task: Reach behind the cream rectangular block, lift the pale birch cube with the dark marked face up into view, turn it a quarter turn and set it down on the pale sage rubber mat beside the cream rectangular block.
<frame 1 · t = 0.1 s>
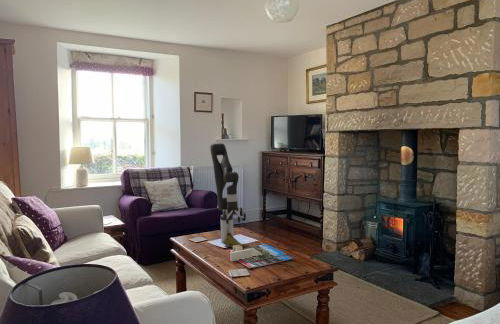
hand: (233, 223, 252), 17 cm above the table, tool pointing down, fingers open, 8 cm apart
marked cube: (237, 255, 236), on the table
cream rectangular block: (241, 259, 228), on the table
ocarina: (233, 247, 252), on the table, touching mat
mat: (252, 252, 240), on the table
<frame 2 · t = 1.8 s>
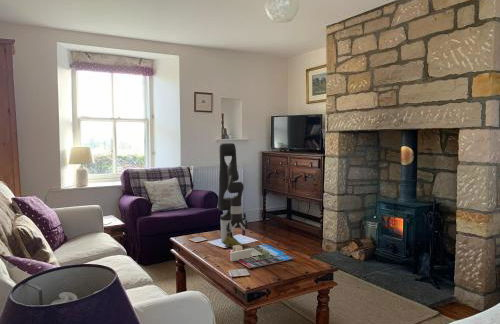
hand: (237, 236, 235), 13 cm above the table, tool pointing down, fingers open, 8 cm apart
nothing on the table moved.
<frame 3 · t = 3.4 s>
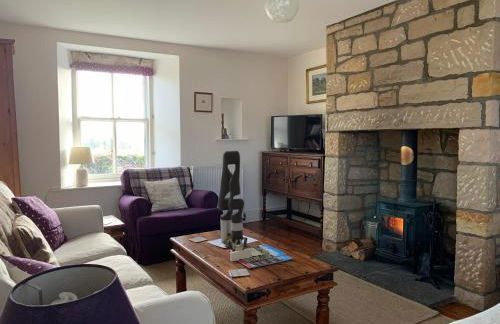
hand: (237, 253, 236), 1 cm above the table, tool pointing down, fingers closed on marked cube, 5 cm apart
marked cube: (237, 255, 236), on the table, touching gripper
everything else where it was.
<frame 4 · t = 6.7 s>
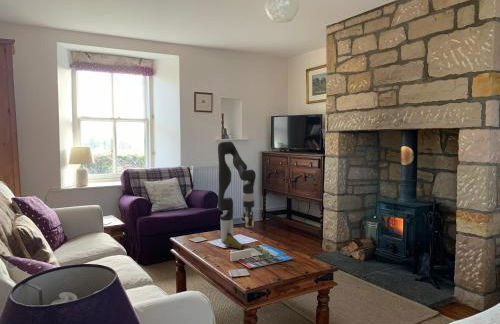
hand: (249, 224, 238), 19 cm above the table, tool pointing down, fingers closed on marked cube, 5 cm apart
marked cube: (249, 226, 238), point 18 cm above the table, touching gripper
everything else where it was.
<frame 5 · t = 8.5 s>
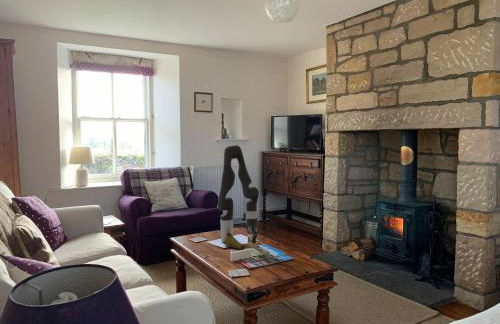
hand: (252, 241, 240), 8 cm above the table, tool pointing down, fingers closed on marked cube, 5 cm apart
marked cube: (252, 243, 240), point 6 cm above the table, touching gripper
everything else where it was.
when the fingers open (3 cm above the table, at t = 9.9 s): marked cube drops 1 cm, resting on mat.
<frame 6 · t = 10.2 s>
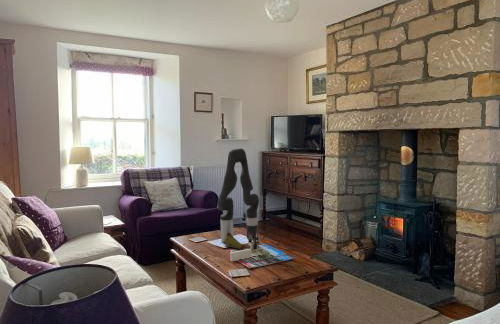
hand: (252, 247, 240), 4 cm above the table, tool pointing down, fingers open, 8 cm apart
marked cube: (253, 251, 240), point 1 cm above the table, touching mat
everything else where it was.
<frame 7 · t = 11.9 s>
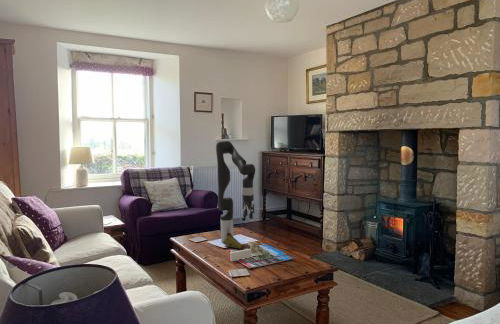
hand: (248, 217, 241), 24 cm above the table, tool pointing down, fingers open, 8 cm apart
nothing on the table moved.
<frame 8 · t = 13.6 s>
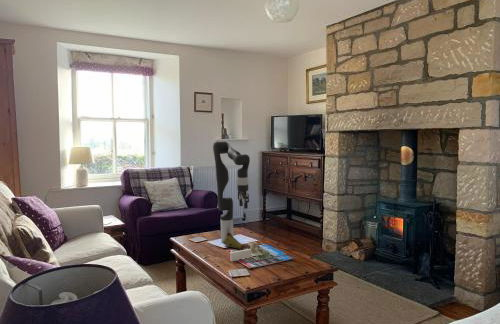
hand: (243, 207, 243), 30 cm above the table, tool pointing down, fingers open, 8 cm apart
nothing on the table moved.
at the end: marked cube inside the target area (0.0 cm from its centre), point 0.6 cm above the table; marked cube tilted 0°; the gripper is holding nothing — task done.
